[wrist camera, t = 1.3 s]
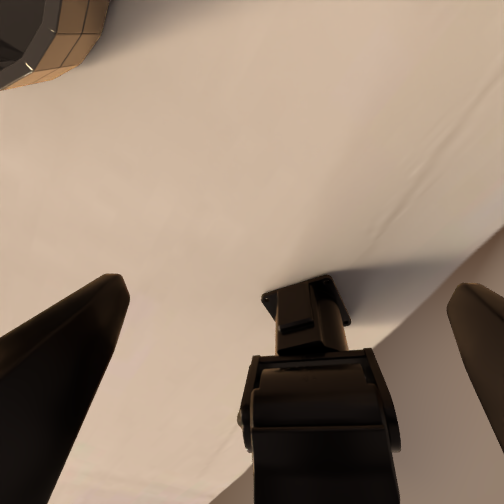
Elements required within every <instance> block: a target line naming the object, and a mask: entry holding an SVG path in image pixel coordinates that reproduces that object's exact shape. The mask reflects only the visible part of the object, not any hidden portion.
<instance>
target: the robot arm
mask: <svg viewBox="0 0 504 504" xmlns="http://www.w3.org/2000/svg"><path fill="white" fill-rule="evenodd" d="M325 280H328V281H325ZM265 298H268V299H265ZM261 301H262V303H263V304H264V306H265V307H266V309H267V310H268V312H269V313H270V315H271V316H272V318H273V319H274V321H275V322H276V338H275V356H260V355H257V356H253V358H252V362H251V365H250V366H249V371H248V375H247V380H246V384H245V388H244V393H243V397H242V402H241V407H240V410H239V413H238V416H237V423H238V425H239V426H240V427H241V428H242V430H243V438H244V444H245V447H246V450H247V451H248V452H249V453H252V460H253V476H254V504H400V494H399V489H398V483H397V479H396V473H395V467H394V462H393V457H392V452H400V451H401V440H400V432H399V426H398V421H397V417H396V412H395V409H394V405H393V402H392V398H391V395H390V392H389V390H388V388H387V385H386V382H385V380H384V378H383V375H382V373H381V370H380V368H379V365H378V363H377V360H376V358H375V355H374V353H373V350H372V348H363V350H350V351H349V349H348V345H347V340H346V336H345V331H344V326H348V325H350V324H351V318H350V316H349V314H348V311H347V309H346V307H345V305H344V303H343V301H342V298H341V296H340V294H339V292H338V290H337V288H336V285H335V283H334V281H333V279H332V277H331V276H330V275H323V276H319V277H316V278H313V279H310V280H306V281H303V282H300V283H297V284H294V285H290V286H287V287H284V288H281V289H277V290H274V291H271V292H268V293H264V294H263V295H262V297H261ZM129 302H130V295H129V292H128V290H127V287H126V284H125V282H124V279H123V277H122V276H121V275H120V274H104V275H102V276H100V277H99V278H97V279H95V280H94V281H92V282H90V283H89V284H87V285H86V286H84V287H82V288H81V289H79V290H77V291H76V292H74V293H72V294H71V295H69V296H68V297H66V298H64V299H63V300H61V301H59V302H58V303H56V304H54V305H53V306H51V307H49V308H48V309H46V310H45V311H43V312H41V313H40V314H38V315H36V316H35V317H33V318H31V319H30V320H28V321H27V322H25V323H23V324H22V325H20V326H18V327H17V328H15V329H13V330H12V331H10V332H9V333H7V334H5V335H4V336H2V337H0V504H47V503H48V501H49V499H50V496H51V494H52V492H53V490H54V487H55V485H56V483H57V480H58V478H59V476H60V474H61V471H62V469H63V467H64V465H65V462H66V460H67V458H68V455H69V453H70V451H71V449H72V446H73V444H74V442H75V439H76V437H77V435H78V433H79V430H80V428H81V426H82V423H83V421H84V419H85V417H86V414H87V412H88V410H89V407H90V405H91V403H92V401H93V398H94V396H95V394H96V392H97V389H98V387H99V385H100V382H101V380H102V378H103V376H104V373H105V371H106V369H107V366H108V364H109V362H110V360H111V357H112V355H113V352H114V350H115V347H116V344H117V341H118V338H119V334H120V331H121V328H122V325H123V322H124V318H125V315H126V312H127V309H128V306H129ZM447 314H448V318H449V321H450V324H451V327H452V330H453V333H454V336H455V339H456V342H457V345H458V348H459V351H460V354H461V358H462V360H463V363H464V366H465V369H466V371H467V373H468V376H469V378H470V380H471V382H472V384H473V387H474V389H475V391H476V393H477V396H478V398H479V400H480V402H481V404H482V406H483V409H484V411H485V413H486V415H487V417H488V420H489V422H490V424H491V426H492V429H493V431H494V433H495V435H496V437H497V440H498V442H499V444H500V446H501V448H502V451H503V453H504V298H503V297H502V296H500V295H498V294H497V293H495V292H493V291H491V290H489V289H488V288H486V287H484V286H483V285H481V284H478V283H461V284H459V285H458V286H457V288H456V289H455V292H454V293H453V295H452V297H451V299H450V301H449V303H448V305H447Z"/></svg>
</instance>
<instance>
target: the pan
mask: <svg viewBox="0 0 504 504" xmlns="http://www.w3.org/2000/svg"><path fill="white" fill-rule="evenodd" d="M109 2H110V0H0V91H2V90H7V89H12V88H16V87H21V86H26V85H30V84H35V83H40V82H45V81H50V80H53V79H55V78H57V77H59V76H61V75H62V74H64V73H66V72H68V71H70V70H71V69H73V68H75V67H77V66H79V65H80V64H81V63H82V62H83V60H84V59H85V57H86V56H87V54H88V53H89V52H90V50H91V49H92V47H93V46H94V44H95V43H96V42H97V40H98V39H99V37H100V36H101V33H102V30H103V26H104V22H105V18H106V14H107V10H108V6H109Z"/></svg>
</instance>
